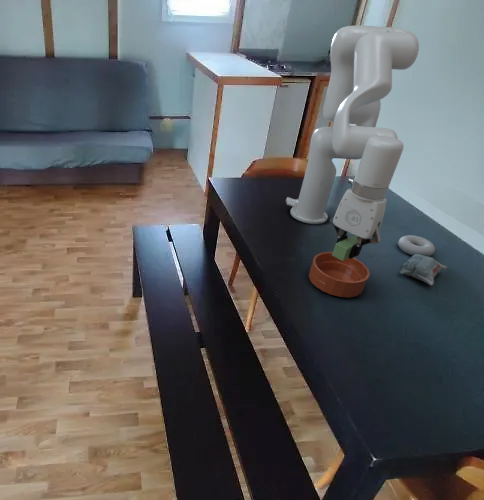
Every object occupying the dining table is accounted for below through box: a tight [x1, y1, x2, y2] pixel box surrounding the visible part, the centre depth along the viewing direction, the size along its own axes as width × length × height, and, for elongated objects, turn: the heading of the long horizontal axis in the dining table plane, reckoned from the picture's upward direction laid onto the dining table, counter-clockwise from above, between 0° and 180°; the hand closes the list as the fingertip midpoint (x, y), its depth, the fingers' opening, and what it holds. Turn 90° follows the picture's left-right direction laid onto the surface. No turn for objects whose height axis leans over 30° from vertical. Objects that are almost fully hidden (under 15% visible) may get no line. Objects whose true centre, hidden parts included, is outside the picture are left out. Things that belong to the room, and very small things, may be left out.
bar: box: [332, 234, 357, 261], centre depth 106 cm, size 8×3×4 cm, turn 126°
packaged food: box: [399, 254, 448, 286], centre depth 116 cm, size 9×12×5 cm
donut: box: [397, 234, 436, 257], centre depth 127 cm, size 10×3×10 cm
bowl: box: [308, 251, 371, 298], centre depth 111 cm, size 14×14×6 cm
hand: (346, 252), depth 107 cm, fingers closed on bar, 3 cm apart
